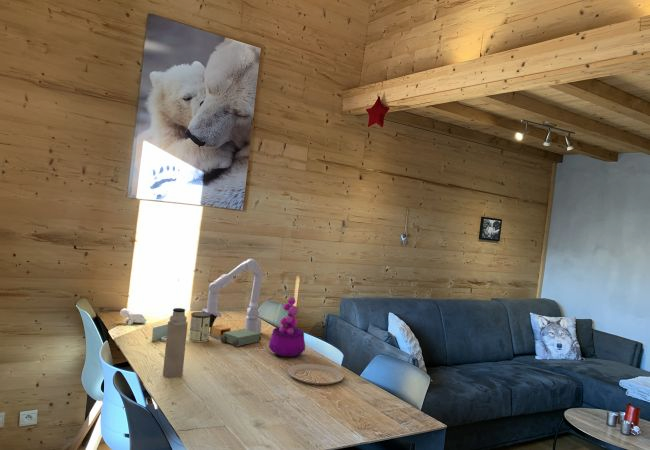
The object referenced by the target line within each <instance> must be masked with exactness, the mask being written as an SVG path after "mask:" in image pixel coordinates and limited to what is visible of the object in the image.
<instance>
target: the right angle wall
mask: <svg viewBox="0 0 650 450" xmlns="http://www.w3.org/2000/svg"><path fill="white" fill-rule="evenodd" d="M167 328H168V323H165V324H160V325H157V326H153V327H152V336H151V342H155V341H157V340H158V341H159V340H160V341H161V342H162V343H166V338H167Z"/></svg>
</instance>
